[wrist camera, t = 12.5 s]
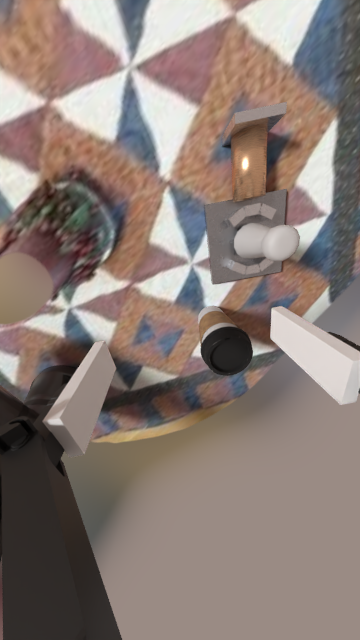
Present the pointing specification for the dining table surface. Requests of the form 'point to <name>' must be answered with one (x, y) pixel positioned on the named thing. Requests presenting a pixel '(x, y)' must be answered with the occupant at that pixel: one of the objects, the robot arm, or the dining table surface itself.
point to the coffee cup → (223, 342)
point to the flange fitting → (245, 196)
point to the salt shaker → (266, 241)
